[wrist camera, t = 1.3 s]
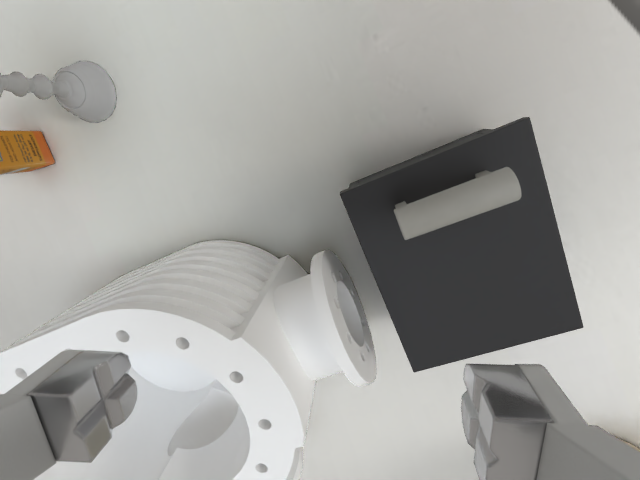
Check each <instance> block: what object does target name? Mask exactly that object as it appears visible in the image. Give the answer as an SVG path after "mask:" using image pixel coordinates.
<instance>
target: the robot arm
mask: <svg viewBox="0 0 640 480" xmlns="http://www.w3.org/2000/svg"><path fill="white" fill-rule="evenodd" d="M130 368H131V363H130V360H129V357H128V355H126V354H124V353H122V352H109V351H92V350H87V351H85V350H66V351H62V352H60V353H59V354H58V355H56V356H55V357H54V358H52V359H51V360H49V361H48V362H47V363H45V364H44V365H43V366H41V367H40V368H39V369H37V370H36V371H35V372H33V373H32V374H31V375H29V376H28V377H27V378H25V379H24V380H22V381H21V382H20V383H18V384H17V385H16V386H14V387H13V388H12V389H10V390H9V391H8V392H6V393H5V394H0V480H33V479H35V478H36V477H38V476H39V475H40V474H42V473H43V472H45V471H46V470H48V469H49V468H50V467H52V466H53V465H55V464H56V461H63V462H85V463H92V461H93V460H94V459H95V458H96V456H97V455H98V454H99V453H100V451H101V450H102V449H103V448H104V447H105V445H106V444H107V443H108V442H109V440H110V439H111V438H112V430H113V428H115V427H117V426H118V425H120V424H122V423H123V422H125V421H126V419H127V418H128V417H129V415H130V414H131V413H132V412H133V409H134V406H135V404H136V401H137V386H136V382H135V380H134V379H133V378H132V377H131V376H130V375H129V374H128V372H129V370H130ZM463 380H464V382H465V385H466V388H467V391H466V392H465V393H464V394H463V395H462V403H461V412H462V423H463V428H464V433H465V436H466V439H467V442H468V444H469V445H471V446H472V447H473V448H474V449H475V455H474V465H475V468H476V471H477V474H478V477H479V480H640V452H639V451H637V450H636V449H634V448H632V447H631V446H629V445H627V444H626V443H624V442H622V441H621V440H619V439H618V438H616V437H614V436H613V435H611V434H609V433H608V432H606V431H605V430H603V429H601V428H600V427H598V426H592V425H588V424H587V423H586V422H585V420H584V419H583V418H582V416H581V415H580V414H579V412H578V411H577V410H576V408H575V407H574V406H573V404H572V403H571V402H570V400H569V399H568V398H567V396H566V395H565V394H564V392H563V391H562V390H561V388H560V387H559V386H558V384H557V383H556V382H555V380H554V379H553V377H552V376H551V375H550V373H549V372H548V371H547V369H546V368H545V367H543V366H542V365H539V364H515V365H490V364H466V366H465V369H464V377H463Z"/></svg>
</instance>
